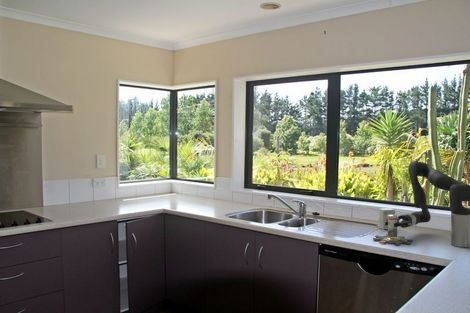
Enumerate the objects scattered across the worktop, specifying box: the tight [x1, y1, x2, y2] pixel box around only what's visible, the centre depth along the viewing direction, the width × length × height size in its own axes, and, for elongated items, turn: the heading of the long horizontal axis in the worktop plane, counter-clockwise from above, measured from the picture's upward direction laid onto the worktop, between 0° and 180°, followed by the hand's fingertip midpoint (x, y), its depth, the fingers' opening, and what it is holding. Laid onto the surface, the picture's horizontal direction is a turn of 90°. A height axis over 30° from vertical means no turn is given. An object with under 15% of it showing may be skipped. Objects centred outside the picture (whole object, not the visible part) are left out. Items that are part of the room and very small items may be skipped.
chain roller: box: [387, 214, 398, 237], centre depth 221 cm, size 5×5×12 cm
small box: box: [378, 207, 396, 230], centre depth 252 cm, size 8×6×13 cm
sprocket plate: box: [372, 234, 414, 247], centre depth 221 cm, size 21×21×2 cm
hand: (390, 224), depth 219 cm, fingers closed on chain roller, 5 cm apart
